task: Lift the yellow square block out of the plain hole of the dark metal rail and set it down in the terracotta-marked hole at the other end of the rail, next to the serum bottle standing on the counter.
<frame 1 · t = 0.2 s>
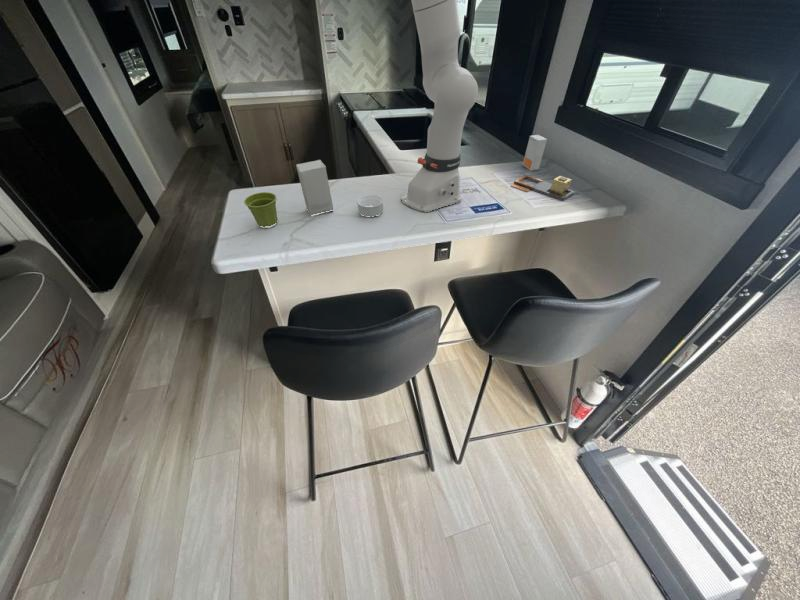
skincare box: (320, 211, 111), on the countertop
yellow square block: (557, 194, 118), resting in rail
plant pot: (268, 224, 104), on the countertop
ramekin: (371, 213, 110), on the countertop
rail: (542, 188, 121), on the countertop
skincare box 2: (530, 168, 136), on the countertop
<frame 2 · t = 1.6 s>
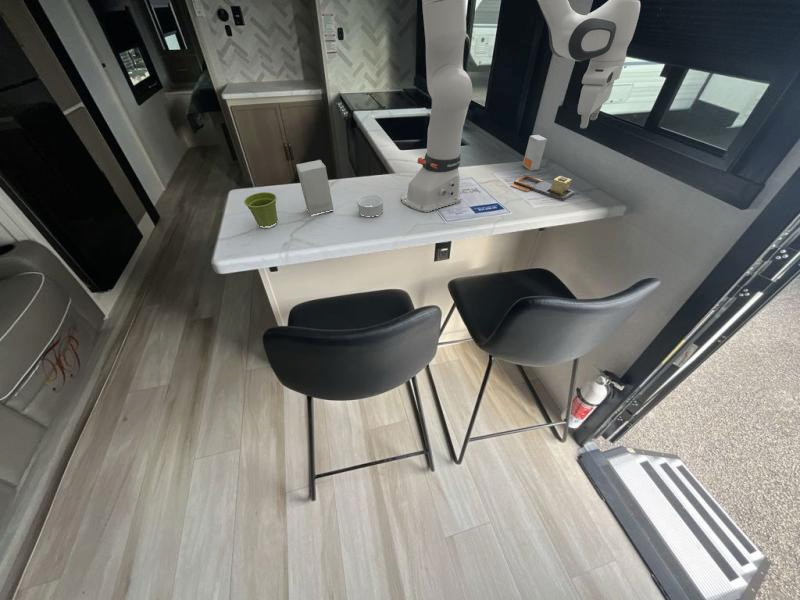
hand: (588, 123, 103), 23 cm above the countertop, tool pointing down, fingers open, 8 cm apart
nothing on the countertop moved.
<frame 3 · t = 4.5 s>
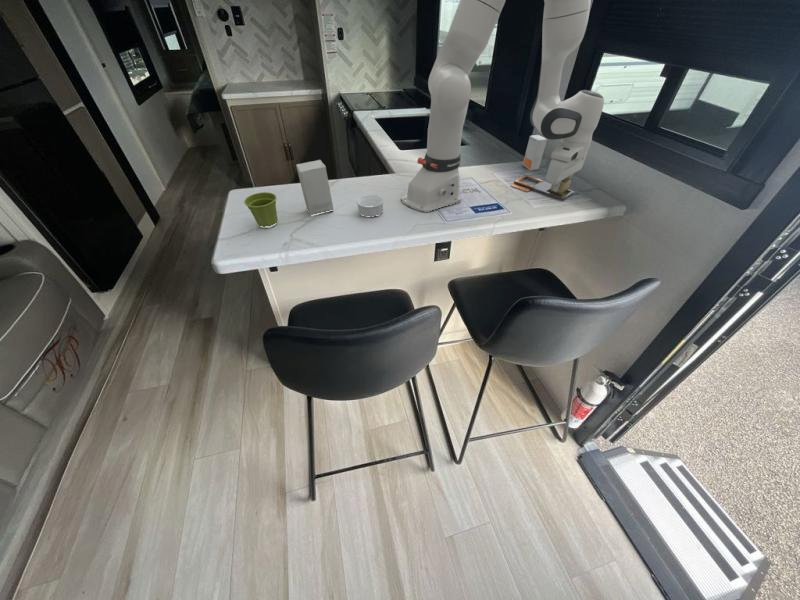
hand: (559, 188, 117), 2 cm above the countertop, tool pointing down, fingers closed on yellow square block, 4 cm apart
yellow square block: (557, 194, 118), resting in rail, touching gripper
everything else where it was.
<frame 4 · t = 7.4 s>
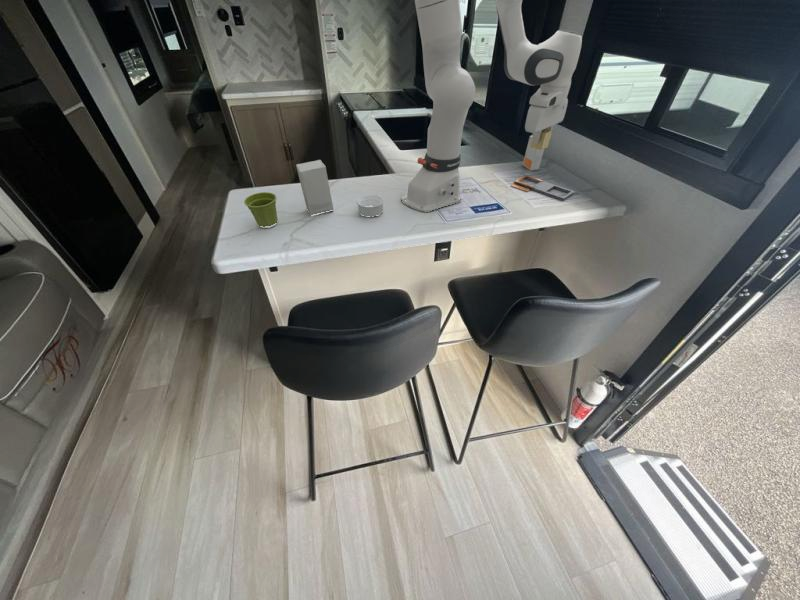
hand: (540, 140, 114), 16 cm above the countertop, tool pointing down, fingers closed on yellow square block, 4 cm apart
yellow square block: (538, 147, 115), point 14 cm above the countertop, touching gripper
everything else where it was.
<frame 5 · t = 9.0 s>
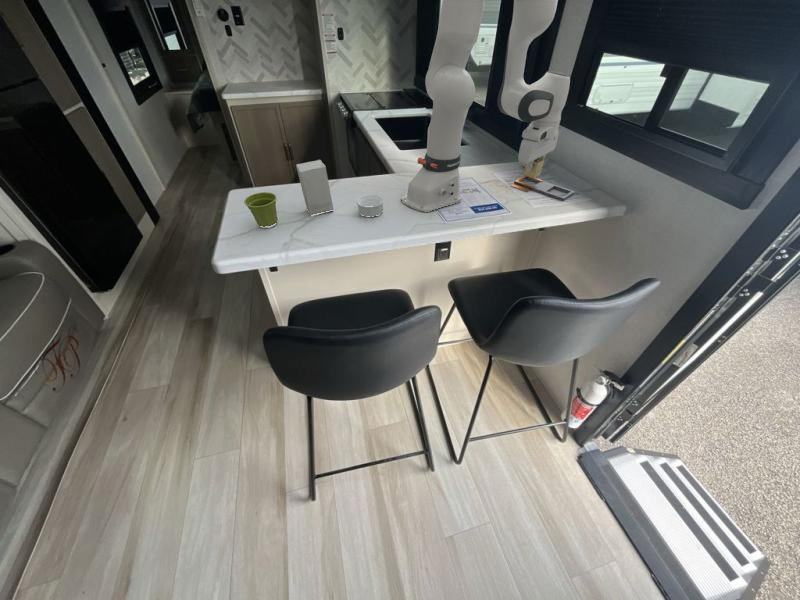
hand: (533, 168, 120), 6 cm above the countertop, tool pointing down, fingers closed on yellow square block, 4 cm apart
yellow square block: (531, 174, 122), point 4 cm above the countertop, touching gripper
everything else where it was.
when the fingers open (4 cm above the countertop, at t = 10.3 s): yellow square block drops 2 cm, resting in rail.
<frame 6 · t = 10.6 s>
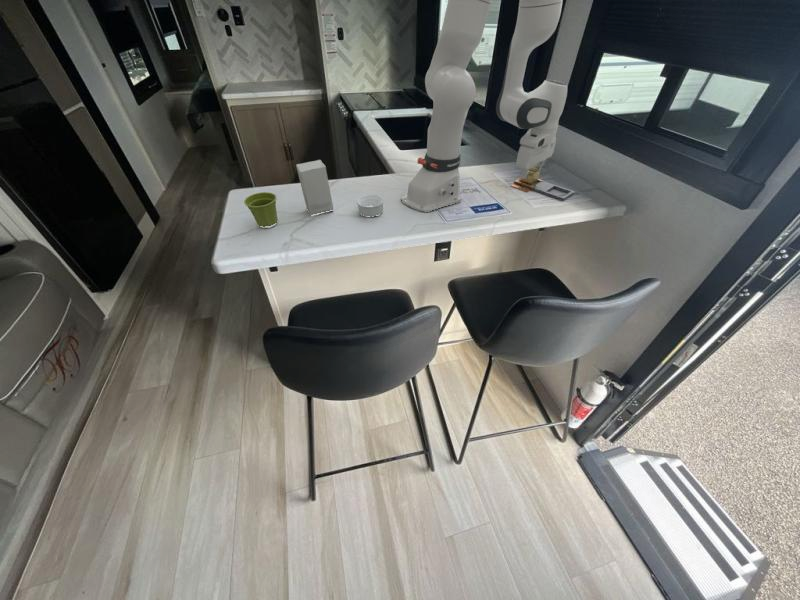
hand: (530, 174, 122), 4 cm above the countertop, tool pointing down, fingers open, 8 cm apart
yellow square block: (528, 184, 124), resting in rail
everything else where it was.
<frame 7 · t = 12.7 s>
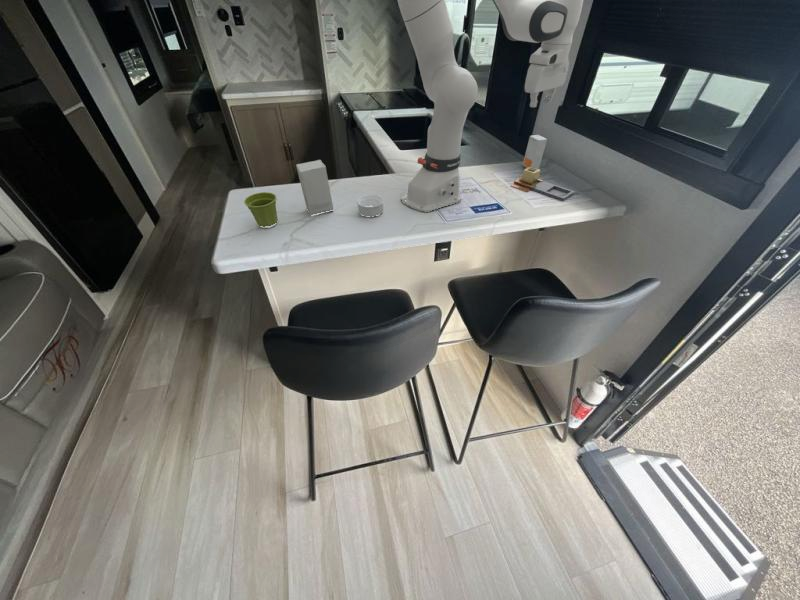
hand: (540, 104, 111), 25 cm above the countertop, tool pointing down, fingers open, 8 cm apart
nothing on the countertop moved.
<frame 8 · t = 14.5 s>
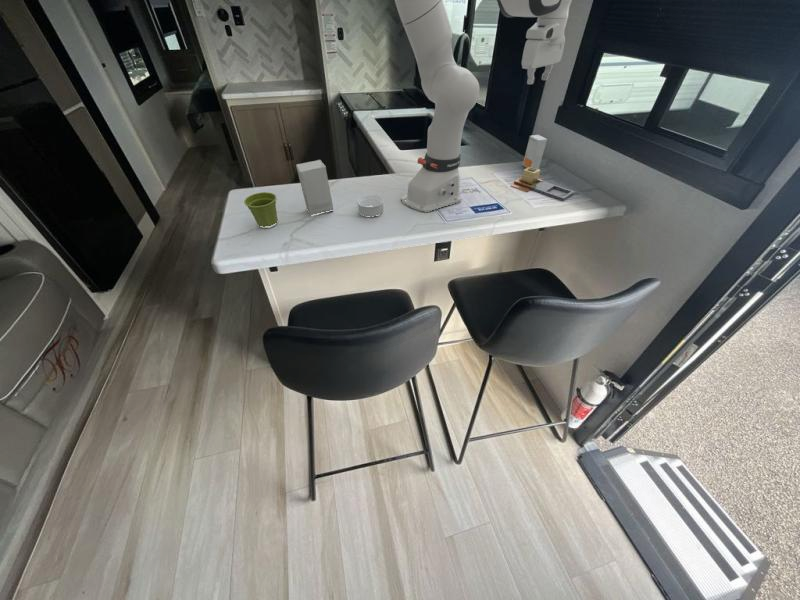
hand: (537, 81, 112), 31 cm above the countertop, tool pointing down, fingers open, 8 cm apart
nothing on the countertop moved.
at the end: yellow square block 0.1 cm from the target spot on the rail, point 0.0 cm above the rail's base; yellow square block tilted 0°; the gripper is holding nothing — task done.
